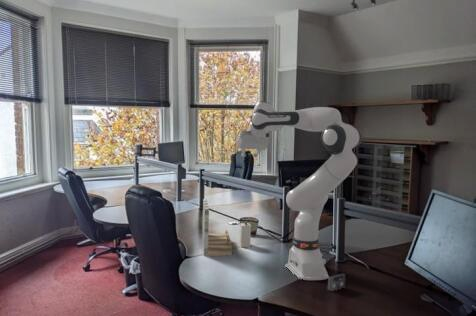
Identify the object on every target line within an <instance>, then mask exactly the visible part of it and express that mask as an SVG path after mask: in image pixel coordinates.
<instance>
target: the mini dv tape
mask: <svg viewBox="0 0 476 316" xmlns="http://www.w3.org/2000/svg"><path fill="white" fill-rule="evenodd" d="M346 275H347V274H345V273H340V274H339V273H338V274H336V275H332V276H329V277H328V280H327V288H326V289H327V291H328V290H329V291H332V292H335V291H334V290H336V291H338V290H337V289H340V290H342V289H341V288H344V289H346V277H347V276H346ZM329 291H328V292H329Z"/></svg>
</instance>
